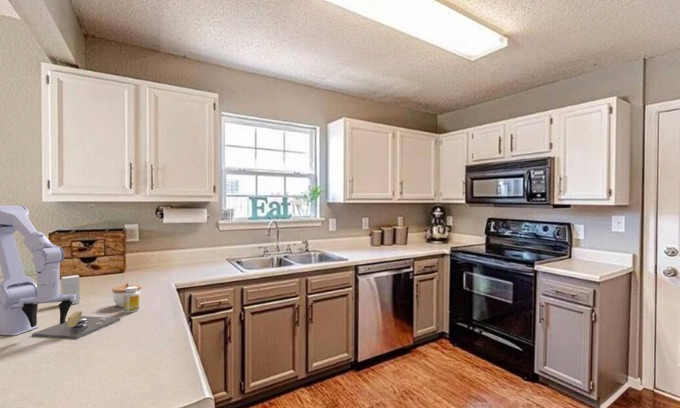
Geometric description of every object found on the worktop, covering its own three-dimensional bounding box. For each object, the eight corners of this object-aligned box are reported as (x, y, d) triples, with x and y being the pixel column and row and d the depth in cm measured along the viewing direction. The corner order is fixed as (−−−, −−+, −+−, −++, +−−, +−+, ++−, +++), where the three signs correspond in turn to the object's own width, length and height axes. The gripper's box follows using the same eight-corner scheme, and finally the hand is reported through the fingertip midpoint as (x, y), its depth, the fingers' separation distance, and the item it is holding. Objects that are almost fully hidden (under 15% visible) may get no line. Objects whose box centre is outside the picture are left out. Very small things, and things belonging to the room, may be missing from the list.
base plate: (32, 335, 112) (32, 329, 112) (80, 318, 130) (80, 312, 130) (77, 338, 110) (77, 332, 110) (120, 320, 128) (120, 314, 128)
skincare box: (78, 301, 152) (78, 275, 152) (79, 303, 149) (79, 276, 149) (61, 304, 148) (61, 277, 148) (62, 306, 145) (62, 278, 145)
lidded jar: (106, 307, 144) (106, 285, 144) (130, 300, 154) (130, 280, 154) (123, 309, 140) (123, 287, 140) (146, 303, 150) (146, 282, 150)
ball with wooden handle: (72, 320, 121) (72, 309, 121) (90, 318, 123) (90, 307, 123) (61, 330, 111) (61, 318, 111) (80, 328, 113) (80, 316, 113)
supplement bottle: (121, 313, 136) (121, 289, 136) (128, 308, 141) (128, 286, 142) (135, 312, 137) (135, 289, 137) (141, 308, 142) (141, 285, 142)
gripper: (14, 288, 105) (13, 331, 105) (70, 284, 111) (70, 325, 111) (25, 283, 112) (25, 324, 112) (78, 280, 117) (78, 318, 117)
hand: (48, 324), depth 112 cm, fingers open, 7 cm apart
